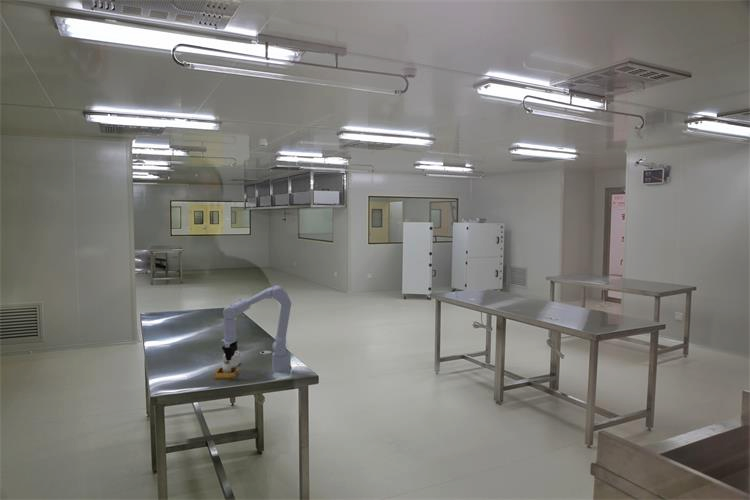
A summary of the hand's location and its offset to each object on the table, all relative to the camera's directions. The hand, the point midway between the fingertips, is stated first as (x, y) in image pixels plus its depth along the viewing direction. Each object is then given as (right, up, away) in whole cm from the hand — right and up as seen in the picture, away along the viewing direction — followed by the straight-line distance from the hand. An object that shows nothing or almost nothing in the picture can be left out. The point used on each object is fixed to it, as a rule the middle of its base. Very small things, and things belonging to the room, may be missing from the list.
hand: (230, 358), depth 239 cm
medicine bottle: (-4, -8, +17) cm, 19 cm away
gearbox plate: (+4, -9, 0) cm, 10 cm away
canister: (-1, -8, -1) cm, 9 cm away
